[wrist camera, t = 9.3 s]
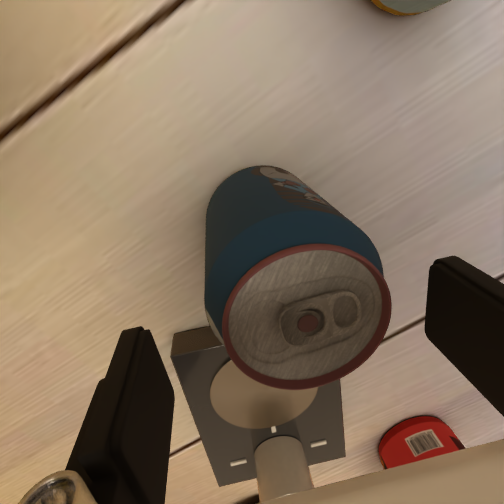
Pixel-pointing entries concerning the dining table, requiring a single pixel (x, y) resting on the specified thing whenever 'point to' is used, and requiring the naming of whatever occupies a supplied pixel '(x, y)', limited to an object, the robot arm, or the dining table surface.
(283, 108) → the dining table surface
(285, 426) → the hob
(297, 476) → the hob knob
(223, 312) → the soda can
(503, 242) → the dining table surface
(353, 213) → the dining table surface
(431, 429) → the canned food
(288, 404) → the burner ring
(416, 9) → the bottle
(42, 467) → the dining table surface
